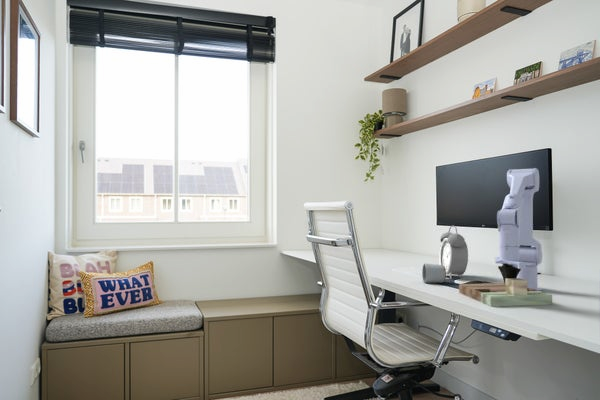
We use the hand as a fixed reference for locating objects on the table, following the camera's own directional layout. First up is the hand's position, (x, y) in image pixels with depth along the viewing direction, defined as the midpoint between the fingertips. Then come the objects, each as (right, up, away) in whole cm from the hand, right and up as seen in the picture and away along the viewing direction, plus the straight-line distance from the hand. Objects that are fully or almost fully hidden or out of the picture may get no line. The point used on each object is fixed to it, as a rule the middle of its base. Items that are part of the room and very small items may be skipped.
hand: (509, 288), depth 149 cm
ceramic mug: (-14, -5, +37) cm, 40 cm away
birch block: (0, -1, -4) cm, 4 cm away
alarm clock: (-2, -5, +49) cm, 50 cm away
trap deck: (0, -4, +4) cm, 6 cm away
